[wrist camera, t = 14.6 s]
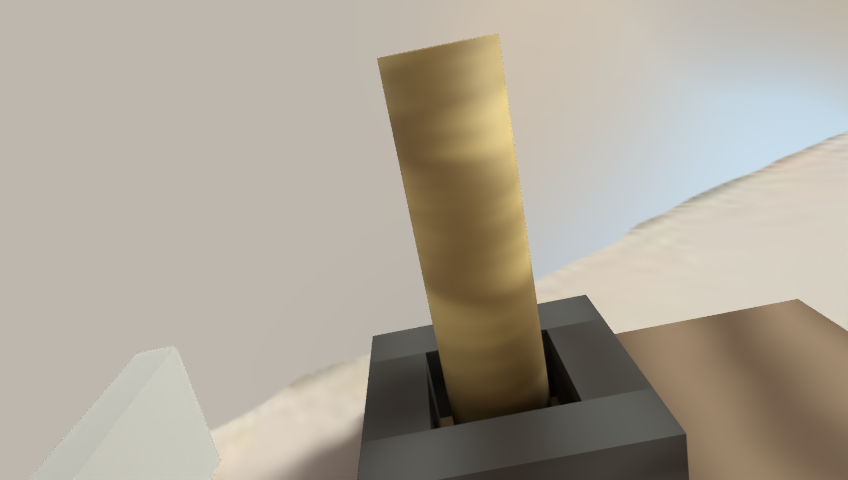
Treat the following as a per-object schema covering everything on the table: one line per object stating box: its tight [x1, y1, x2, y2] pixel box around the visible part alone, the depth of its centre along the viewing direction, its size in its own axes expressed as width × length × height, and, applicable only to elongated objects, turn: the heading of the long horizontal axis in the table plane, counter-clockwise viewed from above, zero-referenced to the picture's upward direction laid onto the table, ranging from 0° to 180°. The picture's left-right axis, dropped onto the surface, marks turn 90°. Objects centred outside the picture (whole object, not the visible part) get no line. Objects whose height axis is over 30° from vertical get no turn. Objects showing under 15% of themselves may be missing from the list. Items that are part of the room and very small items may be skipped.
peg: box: [377, 34, 552, 425], centre depth 21 cm, size 4×4×16 cm
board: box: [357, 295, 848, 480], centre depth 23 cm, size 22×14×5 cm, turn 92°
